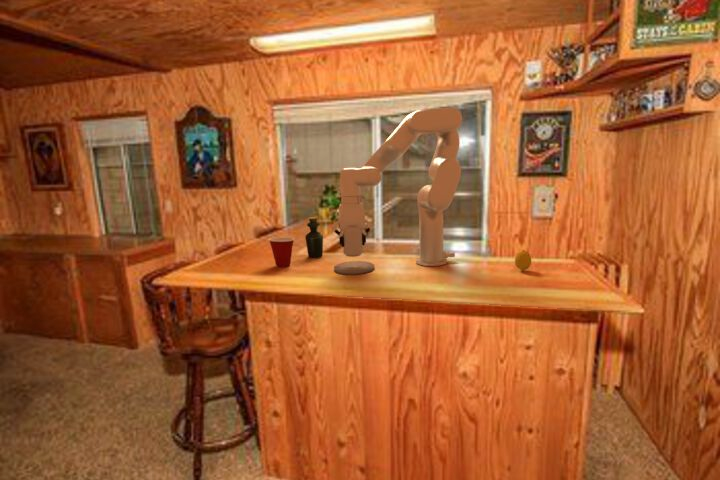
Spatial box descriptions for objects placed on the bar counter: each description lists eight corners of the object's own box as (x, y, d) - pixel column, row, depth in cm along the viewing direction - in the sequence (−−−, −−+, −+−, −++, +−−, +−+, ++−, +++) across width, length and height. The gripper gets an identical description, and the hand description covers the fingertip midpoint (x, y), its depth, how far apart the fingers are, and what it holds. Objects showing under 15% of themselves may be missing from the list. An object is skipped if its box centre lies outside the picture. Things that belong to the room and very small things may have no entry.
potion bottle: (303, 257, 179) (300, 218, 176) (317, 253, 185) (314, 216, 181) (313, 259, 174) (310, 219, 170) (327, 256, 179) (325, 217, 175)
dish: (370, 262, 164) (370, 259, 164) (378, 272, 149) (378, 269, 149) (332, 265, 162) (332, 262, 162) (336, 276, 146) (336, 273, 146)
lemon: (530, 269, 145) (531, 248, 143) (531, 273, 140) (532, 251, 138) (514, 268, 146) (514, 248, 145) (514, 272, 141) (515, 251, 140)
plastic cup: (301, 264, 166) (299, 237, 163) (280, 270, 158) (278, 241, 156) (286, 261, 173) (284, 234, 171) (265, 266, 165) (263, 238, 163)
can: (360, 257, 150) (359, 226, 147) (341, 257, 151) (340, 226, 149) (364, 252, 157) (363, 223, 155) (346, 252, 158) (345, 223, 156)
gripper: (371, 198, 155) (372, 242, 158) (327, 200, 152) (329, 245, 156) (375, 200, 148) (376, 246, 151) (329, 202, 145) (331, 249, 148)
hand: (352, 245), depth 153 cm, fingers closed on can, 7 cm apart
